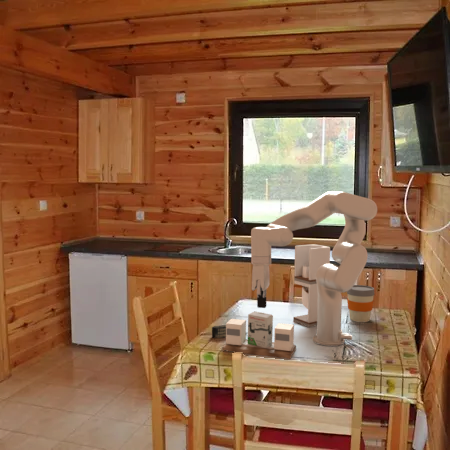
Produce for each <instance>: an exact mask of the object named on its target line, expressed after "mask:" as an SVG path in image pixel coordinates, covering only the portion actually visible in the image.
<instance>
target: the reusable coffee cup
mask: <svg viewBox="0 0 450 450" xmlns="http://www.w3.org/2000/svg"><path fill="white" fill-rule="evenodd" d="M346 294H347V308H348V312H349V320H350V321H353V322H358V323H366V322H369V321H370V320H371V319H370V318H371V313H372V311H373V308H374V302H375V301H374V297H375V296H376V295H375V294H376V293H375V288H374V287H373V286H370V285H365V284H364V285H363V284H354V286H353V287H352V288H351V289H350V290H349V291H347V292H346Z"/></svg>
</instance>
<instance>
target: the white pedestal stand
mask: <svg viewBox="0 0 450 450" xmlns="http://www.w3.org/2000/svg"><path fill="white" fill-rule="evenodd" d="M330 259H331V247H330V246H326V245H320V244H302V245H301V244H300V245H295V246H294V272H293V273H294V275H293V276H294V277H293V278H294V280H293V281H294V282H293V283H294V284H296V285H299V286H302V287H301V288H302V290H301V304H302V305H303V306H304V308H306V309H307V314H304V315H303V314H302V315H297V316H293V319H292V320H293V322H294V323H296V324H300V325H302V326H305V327H307V328H311V327H317V309H318V289H317V282H316V273H317V270H318V269H319V267H320V266H322V265H324V264H331V260H330Z"/></svg>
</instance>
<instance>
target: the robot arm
mask: <svg viewBox="0 0 450 450" xmlns="http://www.w3.org/2000/svg"><path fill="white" fill-rule="evenodd" d="M377 213H378V206H377V203H376V202H375V201H374V200H372V199H370V198H368V197H363V196H360V195H356V194H354V193H350V192H345V191H337V190H336V191H335V190H334V191H333V190H331V191H330V190H329V191H327V192H325V193H323V194H322V195H320V196H318V197H316V198H315V199H314V200H311V201H310V202H309V203H307V204H305V205H304V206H303V207H300V208H298V209H296V210H294V211H291V212H289V213H287V214H284V215H282V216H280V217H278V218H276V219H275V220H273V221H272V222H270V223H268V224H267V226H256V227H253V228H251V232H250V239H251V240H250V242H251V243H250V246H251V247H250V250H251V251H250V252H251V254H250V255H251V257H250V258H251V260H250V261H251V265H252V271H251V272H252V273H251V290H252V291H254V292H255V290H256V300H257V301H256V302H257V303H256V305H257V308H258V309H265V308H267V289H268V288H269V286H270V284H271V283H270V282H271V280H270V265H272V246H273V247H286V246H288V245H290V244H291V243H292V242H293V239H294V233H293V231H297V230H303V229H309V228H311V227H315V226H317V225H318V224H319V223H321V222H322V221H324V220H325V219H327V218H329V217H330V216H332V215H333V214H340V215H343V216H344V217H343V218H344V221H345V225H344V228H343V230H342V233H341V234H340V236H339V238H338V240H337V241H336V244H335V245H334V246H333V248H332V252H331V258H332V260H333V261H334V262H336V263H338V264H339V265H336V264H333V263H330V264H324V265H322V266H320V267H319V269H318V270H317V273H316V282H317V289H318V309H317V326H316V334H315V335H314V336H312V341H313V342H314V343H315V344H317V345H321V346H326V347H336V346H342V345H343V344H345V340H348V341H352V340H353V335H352V334H350V333H344V332H343V329H342V309H343V308H342V307H343V306H342V305H343V299H342V298H343V296H342V293H347V291H349V290H350V289H351V288H352V287H353V286H354V285H356V282H357V281H358V279H359V277H360V275H361V274H362V271H363V270H364V268H365V266H366V265H367V263H368V255H369V254H368V251H367V249H366V247H365V246H364V245H362V242H363V240H364V238H365V235H366V232H367V231H366V221H371V220H372V219H374V218H375V217H376V216H377Z"/></svg>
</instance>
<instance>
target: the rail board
mask: <svg viewBox="0 0 450 450" xmlns="http://www.w3.org/2000/svg"><path fill="white" fill-rule="evenodd" d="M296 349H297V344H294V345H293V347H292V349H291V350H290V351H286V350H277V349H274V342H273V341H272V345H270V346H269V347H267V348H265V347H260V346H256V345H252V344H248V338H247V339H246V340H245V341H244V342H243V344H242V345H233V344H226V343H225V344H224V345H223V346H222V351H223V350H228V351H235V352H234V353H236V352H243V353H242V354H245V355H253V356H254V355H256V356H264V357H271V358H272V357H273V358H279V359H280V358H281V359H287V360H288V359H291V358H292V356H293V354H294V352H295V351H296ZM228 351H227V352H228Z"/></svg>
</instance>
